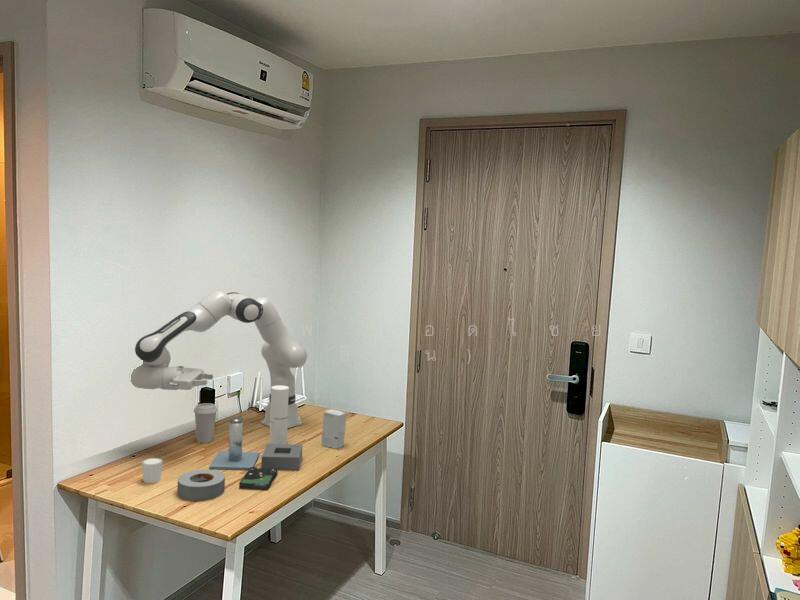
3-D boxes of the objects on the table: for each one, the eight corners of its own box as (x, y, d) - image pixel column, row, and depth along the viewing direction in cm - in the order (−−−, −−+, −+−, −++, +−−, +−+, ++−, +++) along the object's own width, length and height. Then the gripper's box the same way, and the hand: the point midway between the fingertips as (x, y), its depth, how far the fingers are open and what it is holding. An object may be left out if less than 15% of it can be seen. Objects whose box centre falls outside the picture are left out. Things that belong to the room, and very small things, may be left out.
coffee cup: (216, 436, 258) (217, 402, 257) (217, 443, 249) (217, 408, 248) (193, 437, 255) (193, 403, 254) (192, 445, 246) (193, 409, 245)
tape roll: (199, 479, 213) (199, 465, 213) (234, 488, 208) (234, 474, 207) (167, 495, 199) (167, 480, 199) (203, 505, 194) (204, 490, 193)
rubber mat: (218, 453, 238) (218, 451, 238) (259, 454, 239) (259, 452, 239) (209, 469, 222) (209, 466, 222) (252, 470, 223) (252, 467, 223)
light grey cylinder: (146, 475, 213) (147, 457, 213) (165, 477, 213) (166, 458, 212) (137, 483, 206) (138, 464, 206) (157, 485, 206) (157, 465, 206)
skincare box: (321, 445, 254) (322, 411, 252) (328, 441, 259) (330, 408, 258) (337, 449, 250) (339, 415, 248) (345, 445, 255) (346, 411, 254)
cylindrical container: (282, 449, 246) (284, 390, 244) (266, 447, 248) (268, 388, 245) (289, 444, 253) (291, 386, 251) (273, 442, 255) (275, 384, 252)
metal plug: (229, 456, 233) (230, 416, 231) (242, 457, 233) (244, 417, 232) (227, 461, 228) (228, 420, 226) (240, 461, 228) (241, 421, 227)
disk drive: (249, 474, 222) (238, 490, 207) (249, 466, 221) (238, 482, 207) (277, 475, 222) (268, 491, 207) (277, 468, 221) (268, 484, 207)
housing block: (266, 455, 239) (267, 443, 238) (301, 456, 240) (302, 444, 239) (261, 469, 225) (261, 456, 224) (298, 470, 226) (299, 457, 225)
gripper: (165, 376, 223) (203, 378, 224) (181, 365, 243) (215, 366, 244) (165, 393, 223) (202, 394, 225) (180, 380, 244) (215, 381, 245)
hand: (209, 379), depth 235 cm, fingers open, 8 cm apart
